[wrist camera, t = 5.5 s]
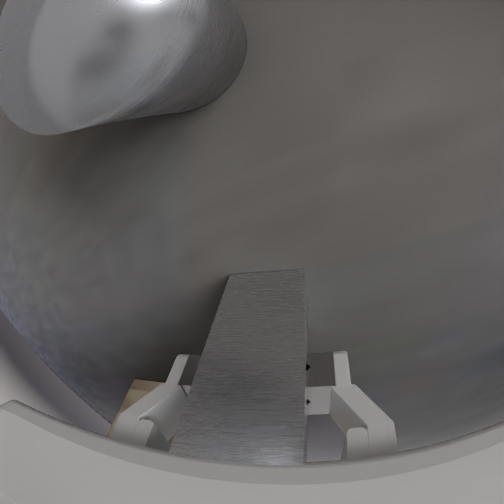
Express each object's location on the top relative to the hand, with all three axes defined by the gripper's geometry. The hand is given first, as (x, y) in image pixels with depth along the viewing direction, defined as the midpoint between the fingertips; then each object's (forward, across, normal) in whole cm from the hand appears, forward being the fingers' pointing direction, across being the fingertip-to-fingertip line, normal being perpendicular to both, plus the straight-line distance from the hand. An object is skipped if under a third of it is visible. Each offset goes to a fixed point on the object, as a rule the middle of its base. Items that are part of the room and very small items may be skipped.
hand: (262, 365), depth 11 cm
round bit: (+4, +2, -12) cm, 13 cm away
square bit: (+4, 0, 0) cm, 4 cm away
